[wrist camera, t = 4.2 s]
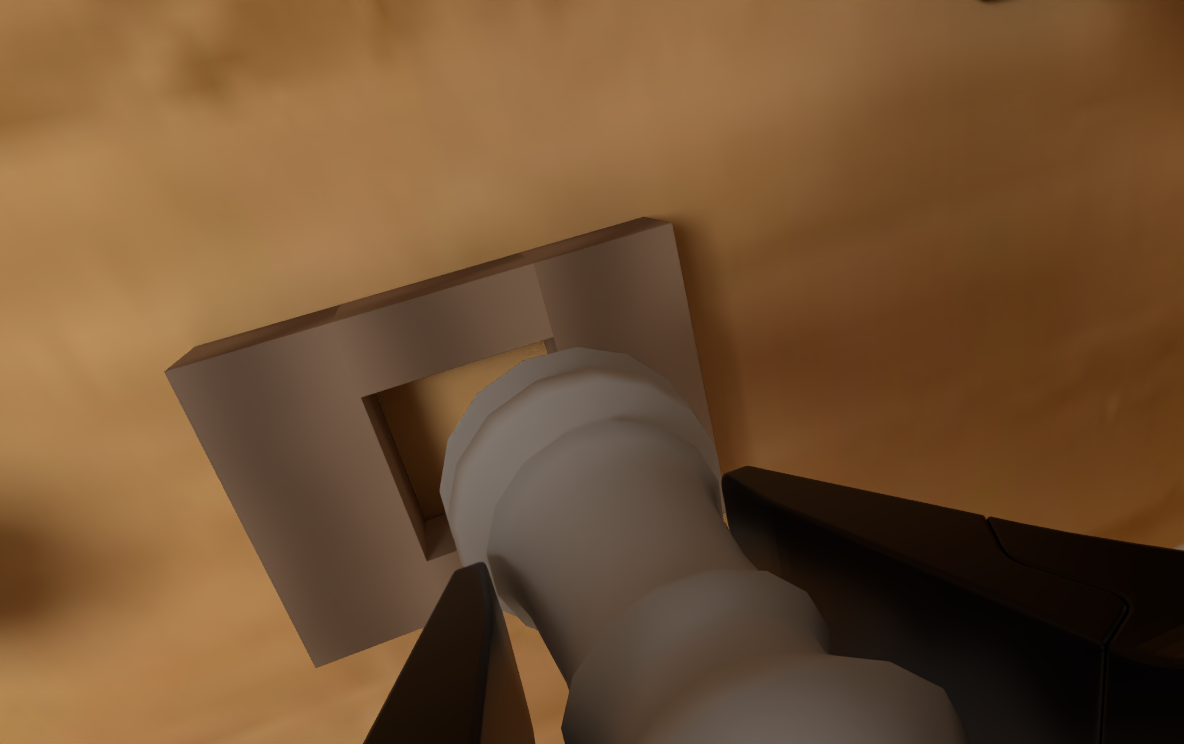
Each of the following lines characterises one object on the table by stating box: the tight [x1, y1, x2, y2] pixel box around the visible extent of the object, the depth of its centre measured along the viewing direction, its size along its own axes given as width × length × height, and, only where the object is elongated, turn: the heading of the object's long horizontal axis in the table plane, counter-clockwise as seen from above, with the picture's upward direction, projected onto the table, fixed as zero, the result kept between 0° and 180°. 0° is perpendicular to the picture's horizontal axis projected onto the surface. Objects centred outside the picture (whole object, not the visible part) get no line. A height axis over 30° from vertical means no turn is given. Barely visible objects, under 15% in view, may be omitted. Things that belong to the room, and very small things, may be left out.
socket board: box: [165, 217, 726, 668], centre depth 20 cm, size 14×10×2 cm
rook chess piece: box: [440, 347, 971, 744], centre depth 8 cm, size 4×4×8 cm
